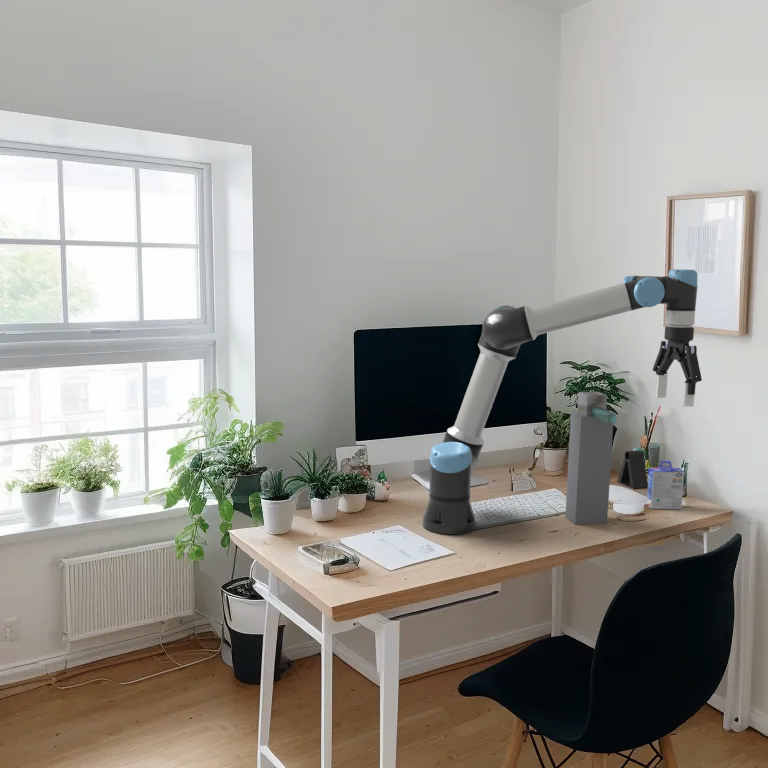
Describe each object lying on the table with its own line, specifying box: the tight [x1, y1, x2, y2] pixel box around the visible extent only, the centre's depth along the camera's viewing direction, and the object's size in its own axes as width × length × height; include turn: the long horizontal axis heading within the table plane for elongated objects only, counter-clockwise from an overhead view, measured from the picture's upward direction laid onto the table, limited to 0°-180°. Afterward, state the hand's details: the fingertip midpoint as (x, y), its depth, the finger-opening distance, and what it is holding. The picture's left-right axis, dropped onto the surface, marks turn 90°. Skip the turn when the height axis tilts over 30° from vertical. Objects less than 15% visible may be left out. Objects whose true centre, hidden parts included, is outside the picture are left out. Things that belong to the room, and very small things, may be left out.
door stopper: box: [617, 449, 648, 490], centre depth 269 cm, size 9×6×12 cm, turn 19°
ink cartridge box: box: [646, 460, 685, 510], centre depth 245 cm, size 10×6×14 cm, turn 89°
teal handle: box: [577, 391, 618, 424], centre depth 223 cm, size 6×16×6 cm, turn 10°
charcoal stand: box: [565, 411, 614, 525], centre depth 230 cm, size 10×7×32 cm
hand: (674, 401), depth 219 cm, fingers open, 13 cm apart
